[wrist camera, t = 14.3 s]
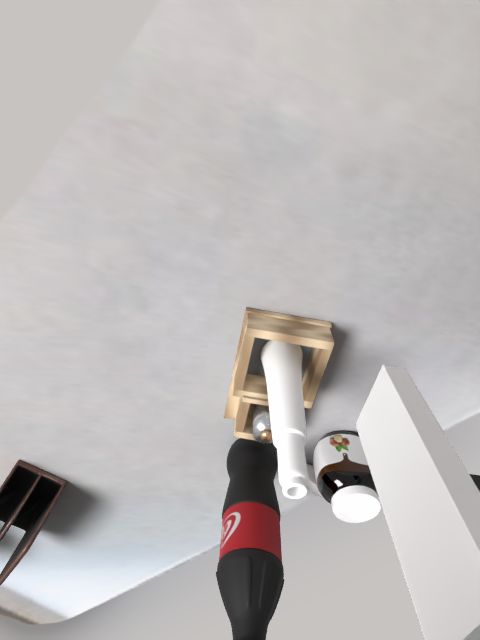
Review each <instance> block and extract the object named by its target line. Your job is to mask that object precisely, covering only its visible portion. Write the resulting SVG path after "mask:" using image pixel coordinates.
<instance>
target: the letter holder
mask: <svg viewBox="0 0 480 640" xmlns="http://www.w3.org/2000/svg"><path fill="white" fill-rule="evenodd" d="M66 484H67V481H65V480H63V479H61V478H59V477H57V476H55V475H52V474H50V473H48V472H46V471H44V470H41V469H39V468H37V467H35V466H33V465H30V464H28V463H26V462H24V461H22V460H19V461H18V462H17V463H16V465H15V466H14V468H13V469H12V471H11V472H10V474H9V475H8V477H7V478H6V480H5V481H4V483H3V485H2V486H1V487H0V520H1V521H3V522H5V524H4V526H3V527H2V529H1V531H0V541H1V540H2V538H3V537H4V535H5V534H6V532H7V531H8V530H9V528H10V526H11V525H14V526H16V527H19V528H21V529H23V530H25V531H26V533H25V534H24V536H23V538H22V540H21V541H20V543H19V544H18V546H17V548H16V549H15V551H14V553H13V554H12V556H11V558H10V559H9V561H8V562H7V564H6V566H5V567H4V569H3V571H2V572H1V574H0V585H1V584H2V583H3V582H4V581H5V579H6V578H7V577H8V576H9V574H10V573H11V572H12V571H13V569H14V568H15V567H16V566H17V564H18V563H19V562H20V561H21V559H22V558H23V557H24V555H25V554H26V553H27V551H28V550H29V549H30V547H31V545H32V544H33V542H34V540H35V538H36V537H37V535H38V533H39V532H40V530H41V528H42V526H43V525H44V523H45V521H46V519H47V518H48V516H49V514H50V512H51V511H52V509H53V507H54V506H55V504H56V502H57V500H58V498H59V496H60V495H61V493H62V491H63V489H64V488H65V486H66Z"/></svg>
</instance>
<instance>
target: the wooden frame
mask: <svg viewBox="0 0 480 640" xmlns="http://www.w3.org/2000/svg"><path fill="white" fill-rule="evenodd" d="M331 327H332V324H331V322H327V321H321V320H315V319H310V318H304V317H298V316H293V315H287V314H281V313H276V312H270V311H264V310H259V309H253V308H247V307H246V312H245V317H244V321H243V326H242V331H241V336H240V341H239V346H238V350H237V355H236V360H235V365H234V370H233V375H232V380H231V384H230V389H229V394H228V399H227V404H226V409H225V414H224V418H229V419H235V428H234V437H237V438H244V439H250V440H255V438H254V437H253V404H259V405H265V406H269V402H268V392H267V384H266V377H265V372H264V367H263V364H262V361H261V355H260V354H261V350H262V348H263V346H264V345H265V344H266V343H267V342H268V341H270V340H274V341H280V342H285V343H291V344H297V345H300V347H301V349H302V352H303V357H302V389H303V399H304V408H310V409H311V407H312V404H313V401H314V399H315V396H316V393H317V390H318V388H319V385H320V382H321V379H322V377H323V374H324V371H325V368H326V365H327V363H328V360H329V357H330V354H331V352H332V349H333V346H334V343H335V342H334V339H333V337H332V334H331V331H330V330H331ZM256 441H257V440H256Z"/></svg>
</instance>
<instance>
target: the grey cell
mask: <svg viewBox="0 0 480 640" xmlns="http://www.w3.org/2000/svg"><path fill="white" fill-rule="evenodd" d="M253 437H254V438H255V440H257V441H258V442H260V443H264V444H270V443H273V438H272V430H271V422H270V412H269V406H265V405H259V404H253Z"/></svg>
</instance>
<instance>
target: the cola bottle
mask: <svg viewBox="0 0 480 640" xmlns="http://www.w3.org/2000/svg"><path fill="white" fill-rule="evenodd" d="M227 470H228V474H229V477H230V483H229V487H228V491H227V495H226V499H225V503H224V507H223V512H222V519H223V522H222V534H221V545H220V557H219V563H218V568H217V572H216V576H217V581H218V585H219V589H220V593H221V597H222V600H223V603H224V606H225V609H226V611H227V614H228V617H229V619H230V622H231V626H232V632H233V640H265V639H266V633H267V628H268V624H269V622H270V620H271V618H272V616H273V614H274V612H275V609H276V607H277V604H278V601H279V598H280V595H281V591H282V588H283V584H284V579H283V575H284V573H283V565H282V556H281V538H280V510H279V505H278V501H277V496H276V491H275V487H274V482H273V481H274V477H275V475H276V471H277V457H276V453H275V451H274V448H273V447H272V445H271V444H264V443H260V442H258V441H256V440H250V439H244V438H240V439H238V440H237V441H235V442H234V444H233V445H232V446H231V448H230V451H229V453H228V457H227Z"/></svg>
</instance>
